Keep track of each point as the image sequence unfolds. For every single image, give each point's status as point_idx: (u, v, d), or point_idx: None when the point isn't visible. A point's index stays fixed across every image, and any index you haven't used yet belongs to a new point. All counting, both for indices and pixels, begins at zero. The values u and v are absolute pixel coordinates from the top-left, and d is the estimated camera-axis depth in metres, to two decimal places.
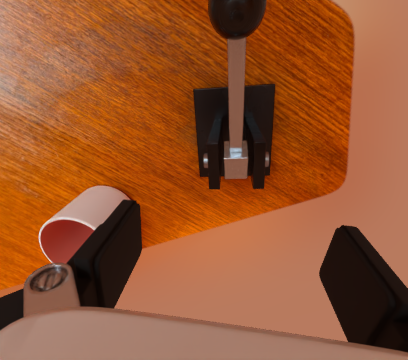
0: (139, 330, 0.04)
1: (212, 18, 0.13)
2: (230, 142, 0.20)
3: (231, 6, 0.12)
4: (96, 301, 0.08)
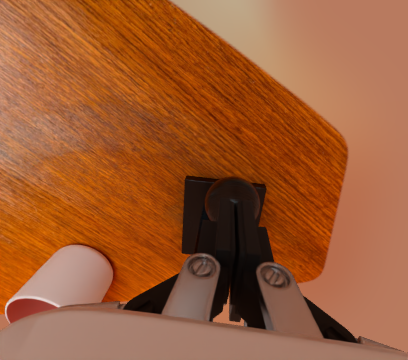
0: (139, 330, 0.04)
1: (207, 214, 0.13)
2: None
3: None
4: None
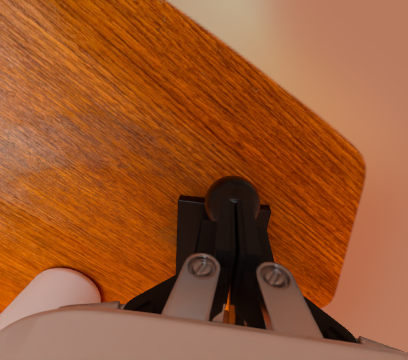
0: (139, 330, 0.04)
1: (207, 210, 0.13)
2: None
3: None
4: None
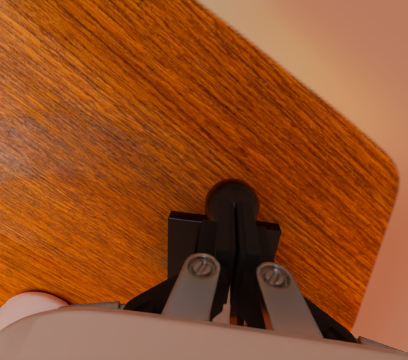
0: (139, 330, 0.04)
1: (208, 208, 0.13)
2: None
3: None
4: None
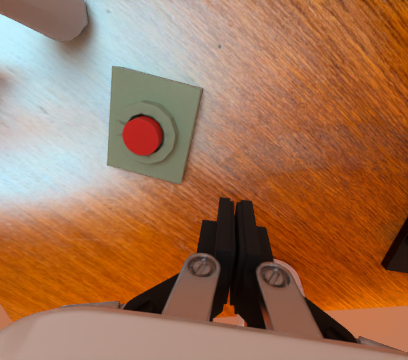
0: (139, 330, 0.04)
1: None
2: None
3: None
4: None
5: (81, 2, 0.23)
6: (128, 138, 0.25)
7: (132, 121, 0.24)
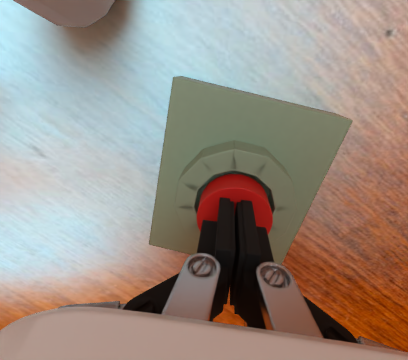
0: (139, 330, 0.04)
1: None
2: None
3: None
4: None
5: None
6: None
7: (221, 192, 0.12)
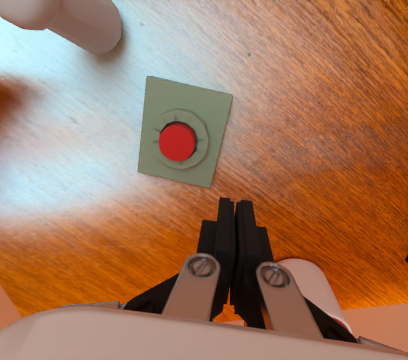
0: (139, 330, 0.04)
1: None
2: None
3: None
4: None
5: (119, 16, 0.24)
6: (164, 145, 0.26)
7: (168, 128, 0.25)
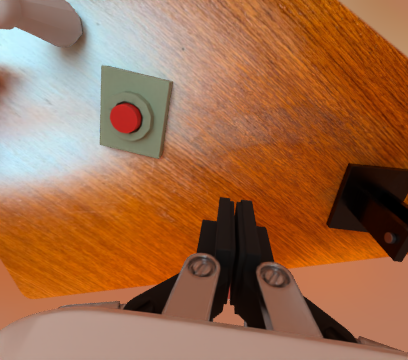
0: (139, 330, 0.04)
1: None
2: None
3: None
4: None
5: (77, 18, 0.31)
6: (114, 120, 0.33)
7: (116, 106, 0.32)
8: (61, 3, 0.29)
